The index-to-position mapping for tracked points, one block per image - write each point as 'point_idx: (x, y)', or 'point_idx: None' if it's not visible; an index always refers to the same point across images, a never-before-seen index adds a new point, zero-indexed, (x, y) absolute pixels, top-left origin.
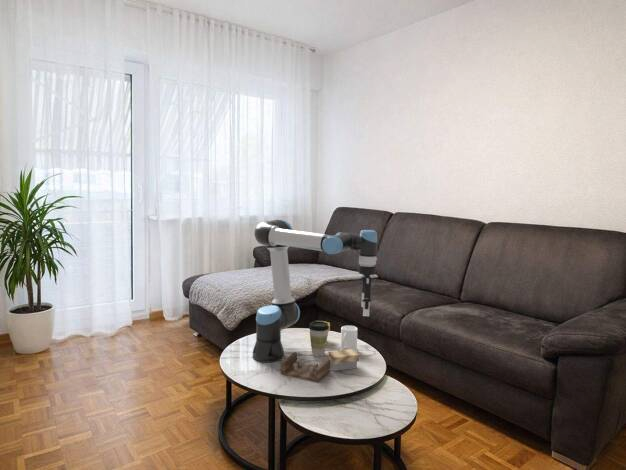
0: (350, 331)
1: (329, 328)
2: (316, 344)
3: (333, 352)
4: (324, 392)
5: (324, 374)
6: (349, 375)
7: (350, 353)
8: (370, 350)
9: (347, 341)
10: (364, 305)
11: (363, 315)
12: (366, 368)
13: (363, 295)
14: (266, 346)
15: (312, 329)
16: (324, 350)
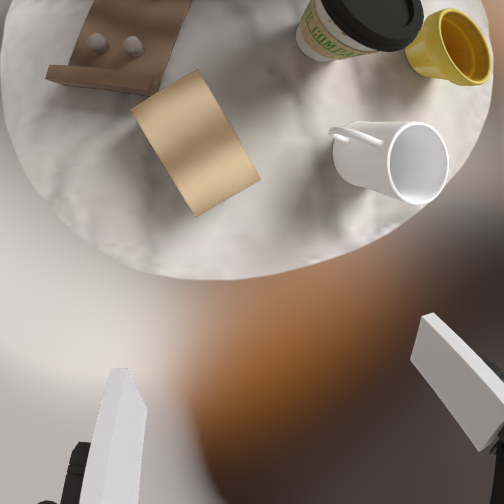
0: (385, 169)
1: (456, 81)
2: (304, 15)
3: (194, 93)
4: (15, 125)
5: (104, 88)
6: (138, 174)
7: (198, 175)
8: (377, 233)
9: (359, 150)
10: (93, 471)
11: (110, 376)
12: (214, 229)
13: (487, 406)
14: None
15: None
16: (317, 56)
